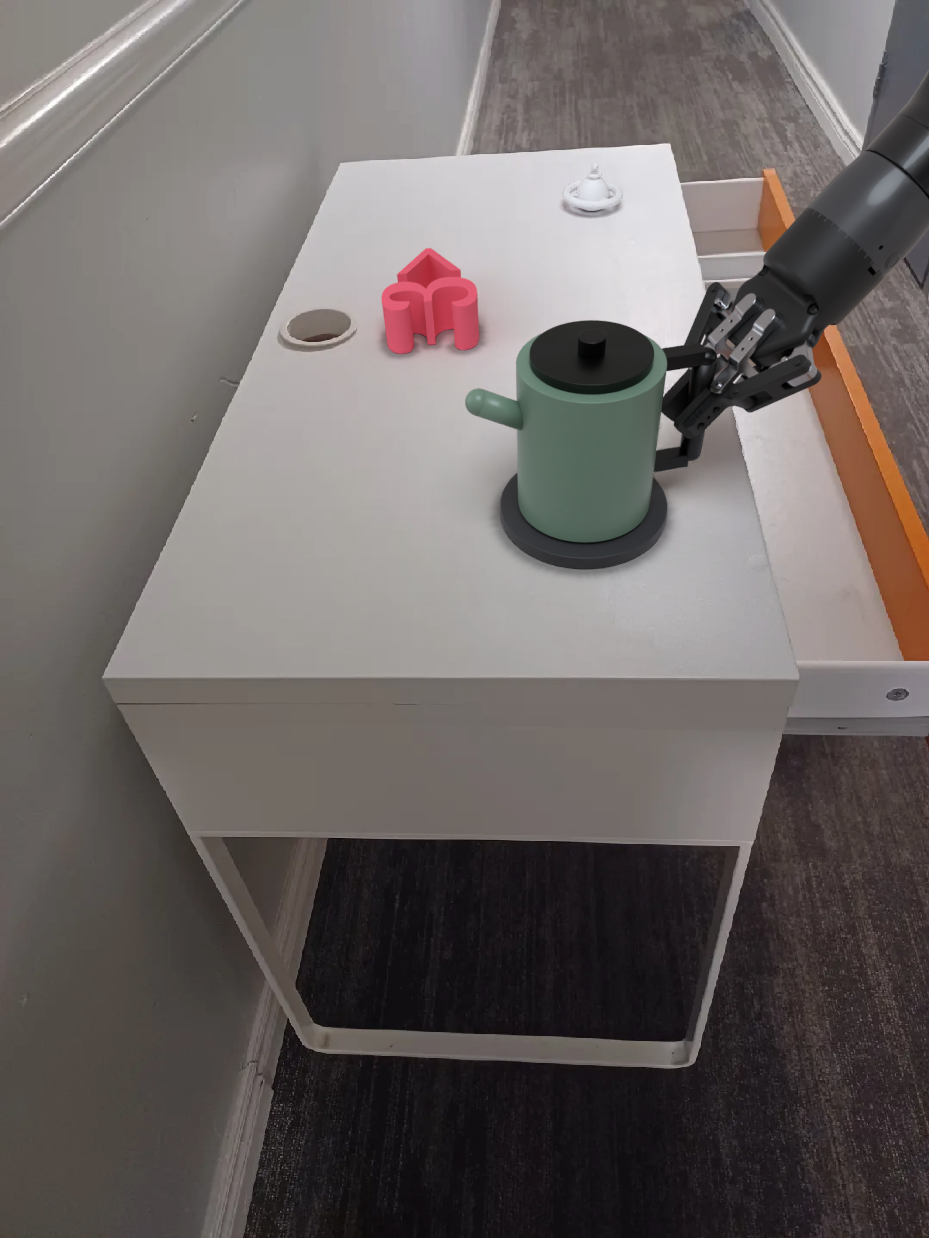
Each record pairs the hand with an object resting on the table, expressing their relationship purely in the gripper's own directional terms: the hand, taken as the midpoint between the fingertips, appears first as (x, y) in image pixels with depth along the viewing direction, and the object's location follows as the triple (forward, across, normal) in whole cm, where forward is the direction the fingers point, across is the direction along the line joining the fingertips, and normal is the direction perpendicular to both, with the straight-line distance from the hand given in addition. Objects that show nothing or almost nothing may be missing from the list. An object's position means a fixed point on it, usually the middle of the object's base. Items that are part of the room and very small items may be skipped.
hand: (674, 423), depth 70 cm
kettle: (+9, -1, 0) cm, 9 cm away
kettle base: (+11, -1, +1) cm, 11 cm away
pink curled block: (+12, -38, 0) cm, 40 cm away
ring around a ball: (-8, -58, +20) cm, 62 cm away
